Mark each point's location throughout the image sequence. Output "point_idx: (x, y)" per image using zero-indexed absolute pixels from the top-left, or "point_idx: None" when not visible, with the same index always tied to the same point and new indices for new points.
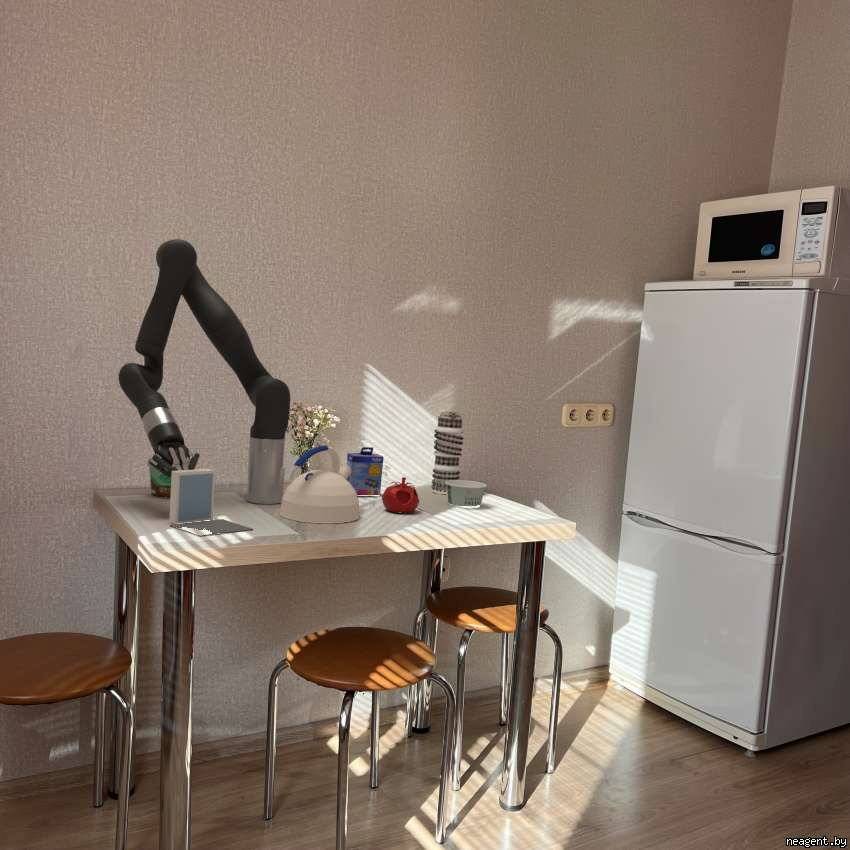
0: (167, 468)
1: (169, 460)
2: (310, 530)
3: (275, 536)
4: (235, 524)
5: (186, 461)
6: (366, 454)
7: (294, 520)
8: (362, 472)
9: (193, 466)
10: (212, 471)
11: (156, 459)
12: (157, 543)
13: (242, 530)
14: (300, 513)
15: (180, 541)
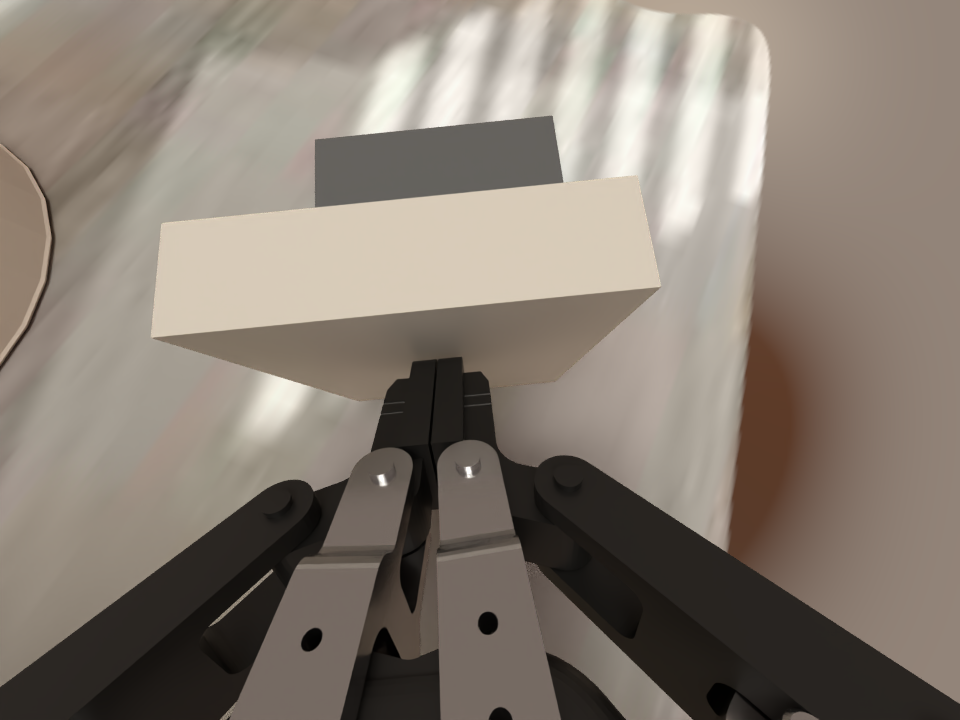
0: (632, 503)
1: (587, 681)
2: (134, 77)
3: (307, 46)
4: None
5: (299, 581)
6: None
7: (50, 233)
8: None
9: (240, 528)
10: (206, 226)
11: (897, 668)
12: (727, 88)
13: (364, 135)
14: (3, 189)
15: (643, 87)
